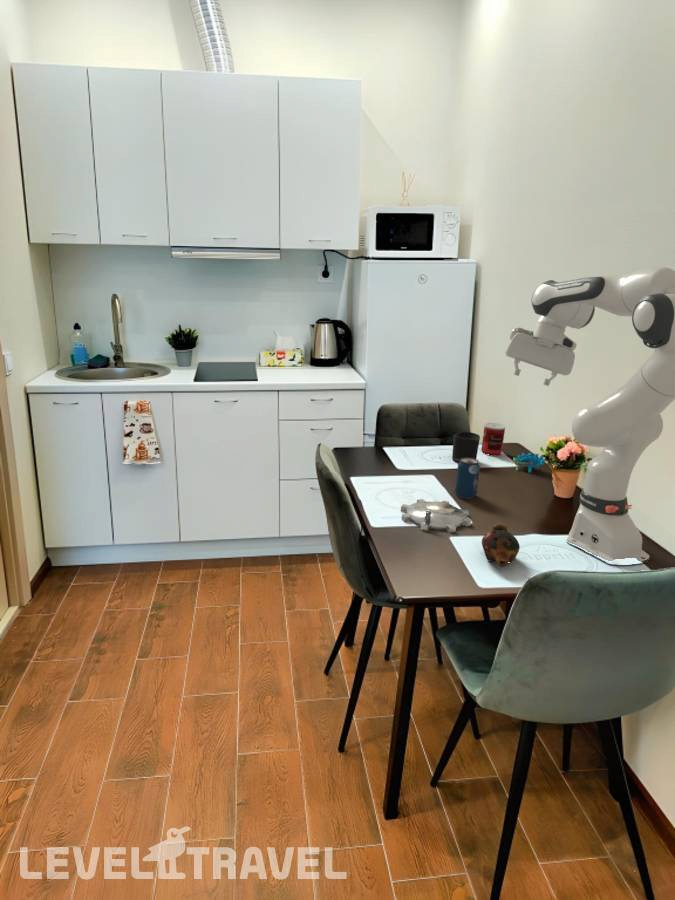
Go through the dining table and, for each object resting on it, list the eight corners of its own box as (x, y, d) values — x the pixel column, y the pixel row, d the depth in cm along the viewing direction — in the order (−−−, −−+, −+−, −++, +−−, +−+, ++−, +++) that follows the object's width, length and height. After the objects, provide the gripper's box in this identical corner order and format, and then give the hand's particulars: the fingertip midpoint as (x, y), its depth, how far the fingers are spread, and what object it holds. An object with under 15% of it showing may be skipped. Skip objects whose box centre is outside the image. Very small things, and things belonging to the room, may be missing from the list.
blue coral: (546, 464, 248) (544, 451, 240) (545, 479, 246) (543, 466, 238) (514, 463, 252) (512, 450, 244) (513, 478, 250) (511, 465, 242)
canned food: (489, 448, 269) (492, 421, 266) (505, 454, 263) (509, 426, 260) (476, 451, 264) (480, 424, 261) (493, 457, 259) (497, 429, 255)
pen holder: (447, 457, 256) (450, 431, 253) (471, 456, 257) (474, 431, 254) (456, 465, 247) (459, 439, 244) (480, 465, 249) (483, 439, 246)
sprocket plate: (484, 529, 195) (486, 514, 193) (418, 535, 188) (420, 520, 186) (449, 501, 213) (451, 487, 212) (388, 506, 206) (389, 492, 205)
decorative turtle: (510, 547, 184) (516, 521, 181) (521, 577, 170) (528, 549, 167) (474, 542, 184) (480, 516, 181) (483, 573, 170) (489, 545, 167)
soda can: (478, 500, 216) (482, 464, 212) (456, 498, 216) (460, 463, 212) (473, 492, 222) (478, 457, 219) (452, 490, 222) (456, 456, 218)
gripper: (515, 324, 204) (499, 368, 204) (582, 346, 202) (565, 390, 203) (512, 327, 210) (496, 369, 211) (576, 348, 208) (560, 391, 209)
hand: (531, 380), depth 207 cm, fingers open, 8 cm apart
